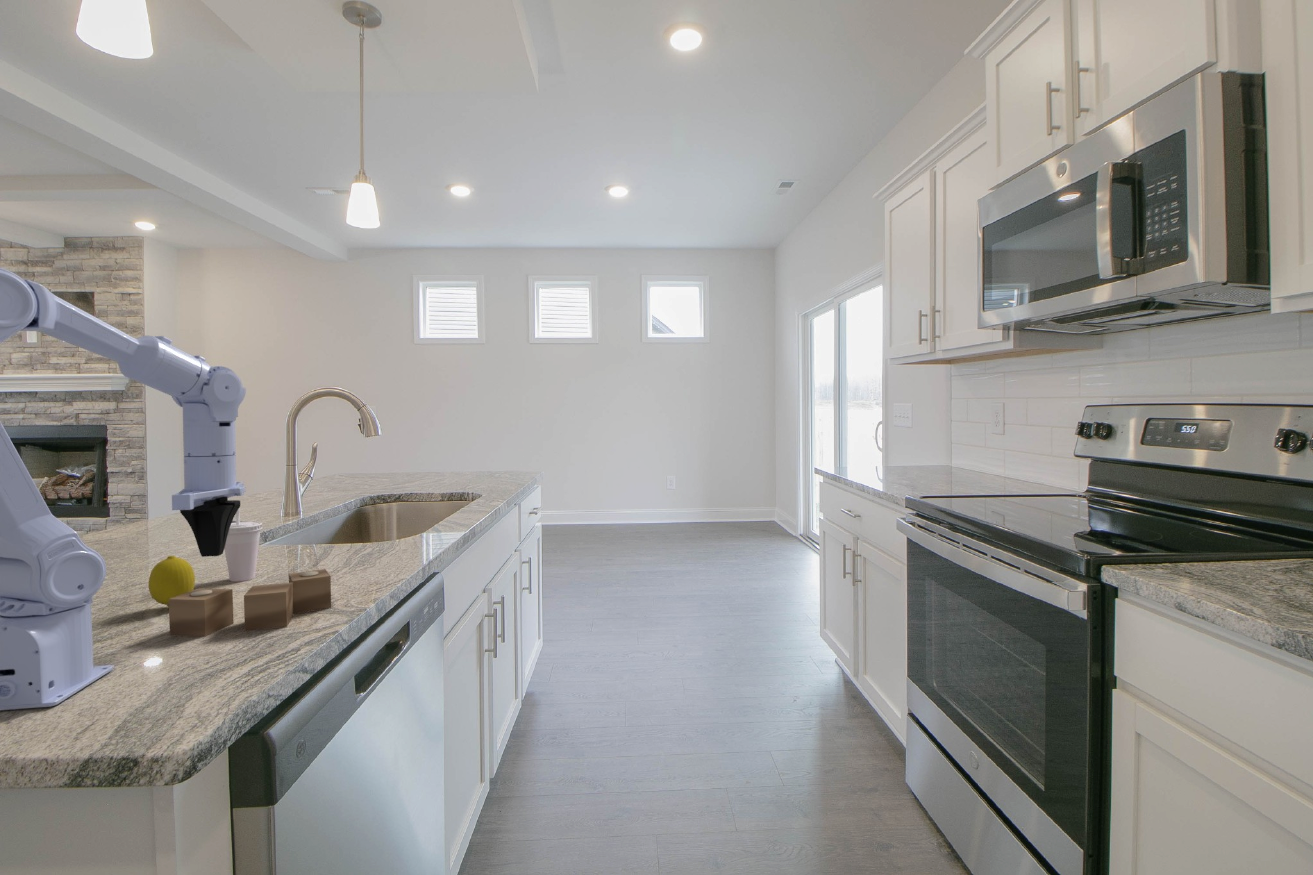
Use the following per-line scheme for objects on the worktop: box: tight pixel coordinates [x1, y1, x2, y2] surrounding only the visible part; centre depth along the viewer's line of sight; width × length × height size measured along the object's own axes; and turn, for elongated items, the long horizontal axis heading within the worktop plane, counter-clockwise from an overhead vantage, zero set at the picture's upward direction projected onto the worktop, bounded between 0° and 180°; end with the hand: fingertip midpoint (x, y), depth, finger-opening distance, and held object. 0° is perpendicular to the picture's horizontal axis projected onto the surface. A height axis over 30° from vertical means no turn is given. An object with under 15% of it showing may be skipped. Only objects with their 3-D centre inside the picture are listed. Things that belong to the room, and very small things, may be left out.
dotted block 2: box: [288, 568, 332, 615], centre depth 95 cm, size 5×5×5 cm
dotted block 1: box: [168, 587, 234, 638], centre depth 85 cm, size 5×5×5 cm
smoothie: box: [224, 508, 263, 583], centre depth 110 cm, size 6×6×14 cm
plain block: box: [243, 582, 294, 632], centre depth 88 cm, size 5×5×5 cm
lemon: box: [148, 555, 196, 608], centre depth 94 cm, size 6×6×8 cm
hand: (212, 555), depth 85 cm, fingers closed
